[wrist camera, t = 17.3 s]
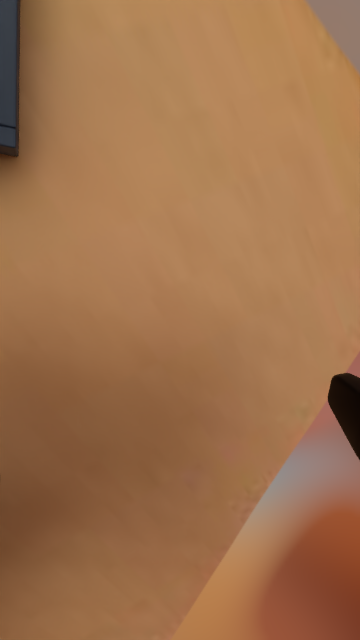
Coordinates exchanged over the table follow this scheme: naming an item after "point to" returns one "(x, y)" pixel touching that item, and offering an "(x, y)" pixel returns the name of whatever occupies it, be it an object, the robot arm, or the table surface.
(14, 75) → the tray
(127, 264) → the table surface
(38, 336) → the table surface
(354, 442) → the robot arm
